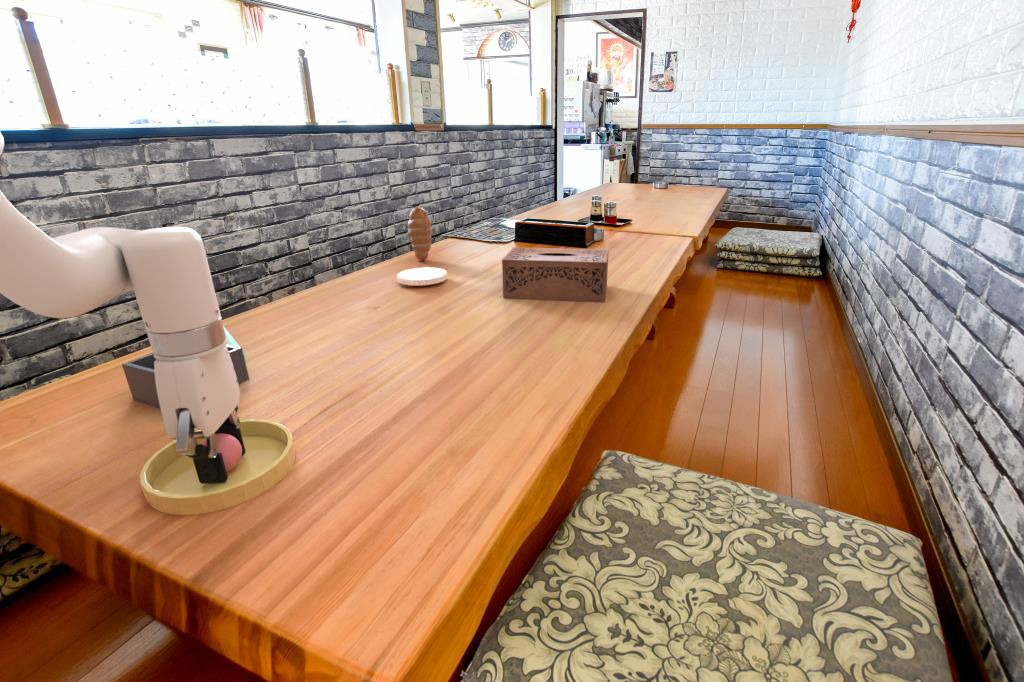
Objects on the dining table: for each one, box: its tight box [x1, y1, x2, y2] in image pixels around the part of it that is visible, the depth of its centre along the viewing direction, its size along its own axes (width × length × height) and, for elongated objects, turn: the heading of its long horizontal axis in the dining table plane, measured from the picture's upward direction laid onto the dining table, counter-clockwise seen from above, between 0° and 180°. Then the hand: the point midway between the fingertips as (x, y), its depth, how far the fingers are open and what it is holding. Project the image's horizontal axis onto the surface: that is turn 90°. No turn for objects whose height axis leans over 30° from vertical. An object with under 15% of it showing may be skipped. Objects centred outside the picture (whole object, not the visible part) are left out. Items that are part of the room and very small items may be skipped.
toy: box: [201, 433, 242, 472], centre depth 67 cm, size 5×5×5 cm
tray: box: [139, 418, 296, 516], centre depth 68 cm, size 17×17×3 cm
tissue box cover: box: [501, 246, 610, 303], centre depth 138 cm, size 26×14×10 cm, turn 79°
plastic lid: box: [396, 266, 448, 287], centre depth 151 cm, size 14×14×2 cm
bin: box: [121, 344, 250, 409], centre depth 89 cm, size 13×13×7 cm
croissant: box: [407, 204, 433, 262], centre depth 172 cm, size 9×8×18 cm
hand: (223, 466), depth 68 cm, fingers closed on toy, 4 cm apart
